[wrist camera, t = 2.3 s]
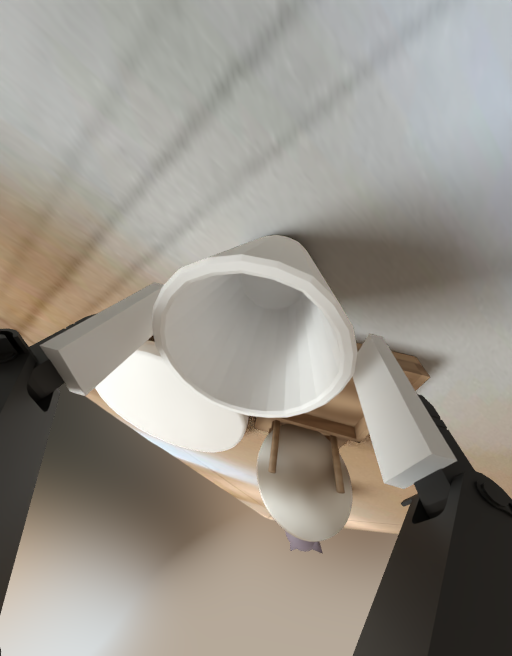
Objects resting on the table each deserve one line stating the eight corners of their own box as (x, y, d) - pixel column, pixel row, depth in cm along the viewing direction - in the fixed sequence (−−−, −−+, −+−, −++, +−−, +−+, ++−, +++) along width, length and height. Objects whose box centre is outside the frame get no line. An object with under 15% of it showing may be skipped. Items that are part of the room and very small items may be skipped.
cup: (258, 193, 16) (179, 187, 6) (349, 259, 17) (420, 349, 7) (215, 286, 22) (136, 367, 11) (286, 330, 23) (274, 437, 13)
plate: (109, 428, 40) (50, 329, 25) (134, 402, 46) (97, 307, 30) (230, 483, 36) (249, 405, 21) (242, 448, 41) (264, 364, 26)
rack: (283, 325, 23) (265, 456, 11) (415, 356, 22) (545, 537, 10) (255, 421, 36) (233, 526, 25) (335, 444, 35) (352, 564, 24)
